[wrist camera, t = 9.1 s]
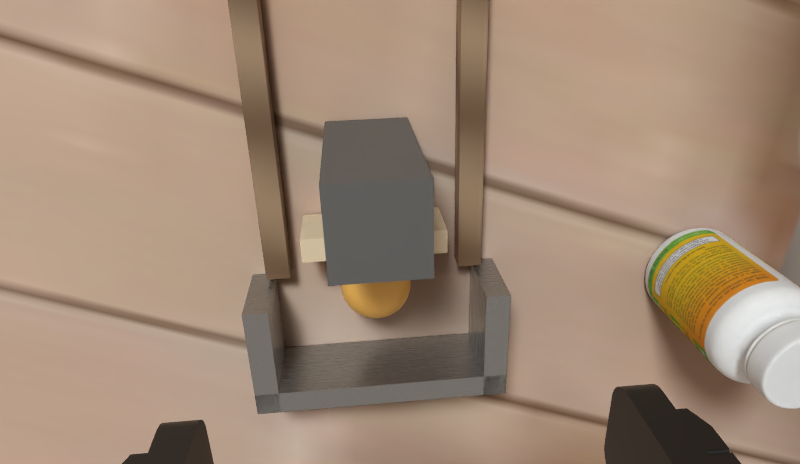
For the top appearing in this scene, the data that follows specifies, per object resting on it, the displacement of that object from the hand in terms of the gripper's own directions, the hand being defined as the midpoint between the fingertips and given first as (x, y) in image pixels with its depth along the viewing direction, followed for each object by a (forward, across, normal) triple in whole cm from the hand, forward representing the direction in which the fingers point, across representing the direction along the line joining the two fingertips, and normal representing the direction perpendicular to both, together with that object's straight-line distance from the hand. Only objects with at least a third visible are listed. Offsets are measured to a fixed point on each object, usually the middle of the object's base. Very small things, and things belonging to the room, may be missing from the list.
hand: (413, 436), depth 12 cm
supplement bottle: (+20, -18, +8) cm, 28 cm away
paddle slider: (+20, 0, +2) cm, 20 cm away
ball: (+18, 0, +7) cm, 19 cm away
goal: (+20, 0, +10) cm, 22 cm away
